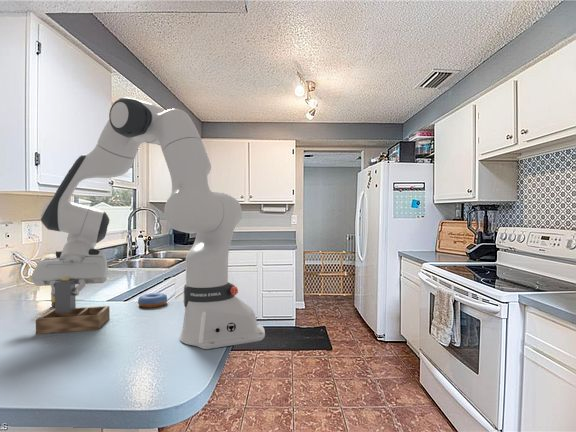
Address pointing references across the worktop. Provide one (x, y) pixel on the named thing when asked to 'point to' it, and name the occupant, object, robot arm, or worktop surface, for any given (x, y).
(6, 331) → the worktop surface
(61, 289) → the push button
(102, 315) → the caddy
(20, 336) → the worktop surface
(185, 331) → the robot arm
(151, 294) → the doughnut
